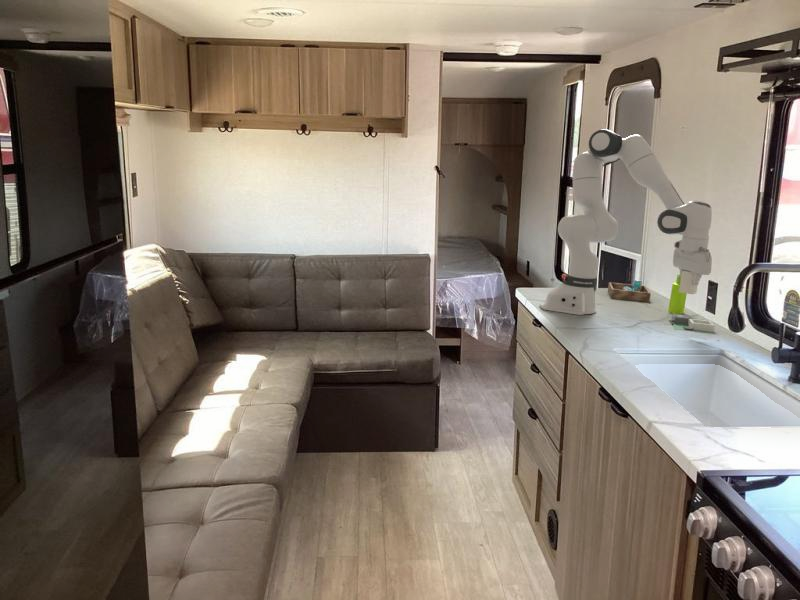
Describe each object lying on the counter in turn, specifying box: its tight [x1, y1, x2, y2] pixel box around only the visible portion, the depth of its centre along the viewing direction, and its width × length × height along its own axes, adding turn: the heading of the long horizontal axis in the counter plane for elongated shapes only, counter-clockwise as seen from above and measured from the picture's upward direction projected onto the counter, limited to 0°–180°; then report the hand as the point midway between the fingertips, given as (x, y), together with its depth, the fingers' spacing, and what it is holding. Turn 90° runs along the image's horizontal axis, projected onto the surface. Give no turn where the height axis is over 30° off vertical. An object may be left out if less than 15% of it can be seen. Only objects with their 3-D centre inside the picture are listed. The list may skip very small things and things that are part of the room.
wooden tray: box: [607, 282, 651, 303], centre depth 297 cm, size 17×17×4 cm
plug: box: [679, 270, 701, 295], centre depth 239 cm, size 6×4×8 cm
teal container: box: [622, 278, 643, 292], centre depth 297 cm, size 12×12×8 cm
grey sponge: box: [668, 313, 691, 326], centre depth 248 cm, size 7×8×3 cm
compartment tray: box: [671, 318, 716, 335], centre depth 244 cm, size 14×15×4 cm
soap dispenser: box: [667, 268, 688, 315], centre depth 264 cm, size 6×7×20 cm
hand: (688, 283), depth 239 cm, fingers closed on plug, 6 cm apart
